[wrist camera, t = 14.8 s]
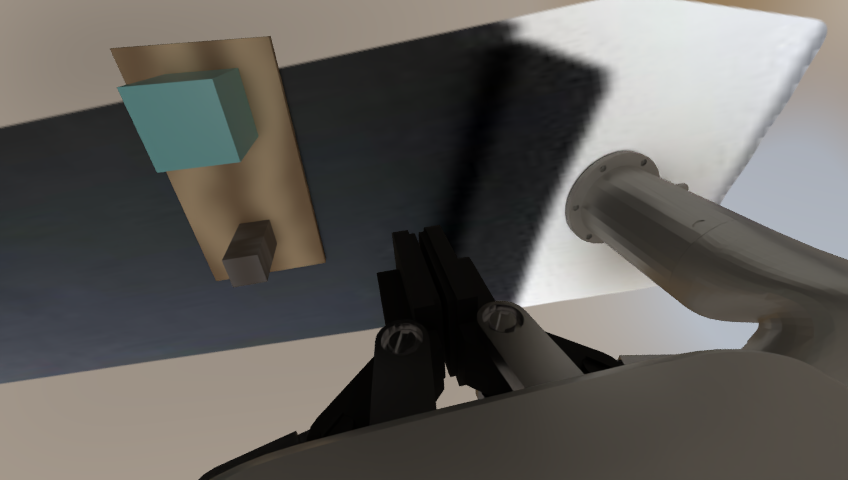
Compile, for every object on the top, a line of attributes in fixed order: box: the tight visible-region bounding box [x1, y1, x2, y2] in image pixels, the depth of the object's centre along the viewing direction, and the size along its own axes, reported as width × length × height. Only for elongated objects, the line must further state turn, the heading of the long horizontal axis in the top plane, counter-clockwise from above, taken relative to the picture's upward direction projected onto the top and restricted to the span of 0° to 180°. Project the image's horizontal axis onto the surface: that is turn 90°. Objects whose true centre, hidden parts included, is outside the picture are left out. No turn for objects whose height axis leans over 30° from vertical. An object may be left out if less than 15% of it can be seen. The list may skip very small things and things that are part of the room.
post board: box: [110, 36, 326, 287], centre depth 33 cm, size 12×23×8 cm, turn 4°
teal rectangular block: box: [117, 68, 258, 172], centre depth 28 cm, size 6×6×8 cm
